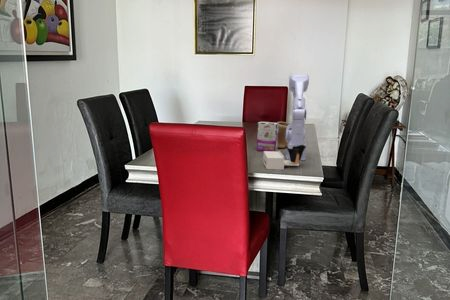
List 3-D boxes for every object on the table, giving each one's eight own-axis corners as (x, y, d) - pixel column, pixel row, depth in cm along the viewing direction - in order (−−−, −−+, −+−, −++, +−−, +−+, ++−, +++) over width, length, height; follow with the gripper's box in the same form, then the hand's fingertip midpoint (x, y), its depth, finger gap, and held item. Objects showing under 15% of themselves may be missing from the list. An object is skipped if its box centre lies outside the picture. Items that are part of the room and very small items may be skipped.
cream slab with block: (295, 161, 200) (296, 151, 199) (299, 165, 192) (300, 155, 191) (267, 160, 199) (268, 150, 198) (270, 165, 191) (270, 154, 190)
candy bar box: (277, 151, 227) (279, 122, 224) (275, 153, 223) (277, 123, 219) (258, 149, 231) (260, 121, 227) (256, 150, 226) (257, 122, 223)
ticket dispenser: (279, 162, 203) (279, 150, 201) (284, 169, 189) (284, 157, 188) (262, 161, 202) (263, 150, 201) (266, 169, 189) (267, 156, 187)
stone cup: (288, 150, 231) (290, 124, 228) (268, 148, 235) (269, 122, 231) (291, 145, 245) (293, 121, 242) (272, 143, 249) (274, 119, 245)
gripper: (297, 130, 200) (295, 156, 203) (283, 134, 189) (281, 161, 192) (310, 132, 196) (307, 159, 199) (296, 136, 185) (294, 164, 188)
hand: (295, 160), depth 195 cm, fingers closed on cream slab with block, 5 cm apart
